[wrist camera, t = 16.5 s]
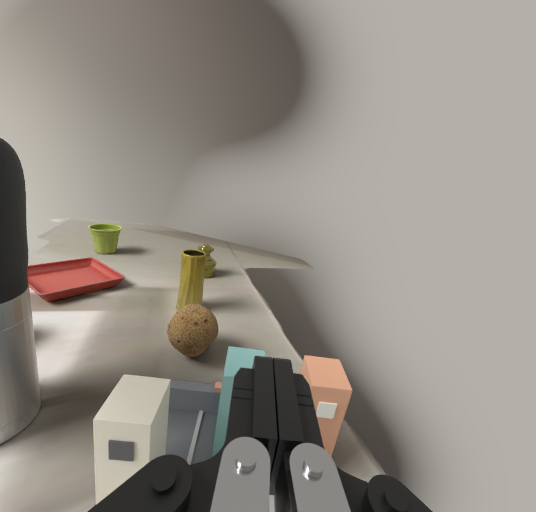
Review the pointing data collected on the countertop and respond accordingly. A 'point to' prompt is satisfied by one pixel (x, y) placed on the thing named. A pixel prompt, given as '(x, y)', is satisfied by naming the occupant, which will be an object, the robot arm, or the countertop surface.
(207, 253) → the olive glossy tiered piece
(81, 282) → the plant saucer
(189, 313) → the natural sponge
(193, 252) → the vase
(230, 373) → the key teal
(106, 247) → the plant pot
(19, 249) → the robot arm
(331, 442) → the key terracotta
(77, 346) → the countertop surface
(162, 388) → the key cream
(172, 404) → the grey divided tray
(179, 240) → the countertop surface
